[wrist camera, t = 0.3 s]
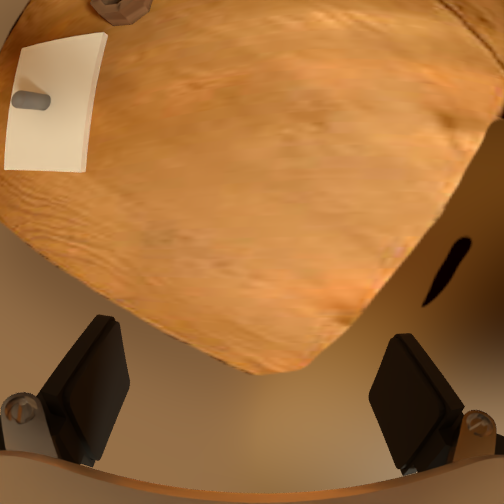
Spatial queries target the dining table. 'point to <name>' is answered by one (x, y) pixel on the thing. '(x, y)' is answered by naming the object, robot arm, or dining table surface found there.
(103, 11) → the walnut bead
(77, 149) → the peg board
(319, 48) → the dining table surface
